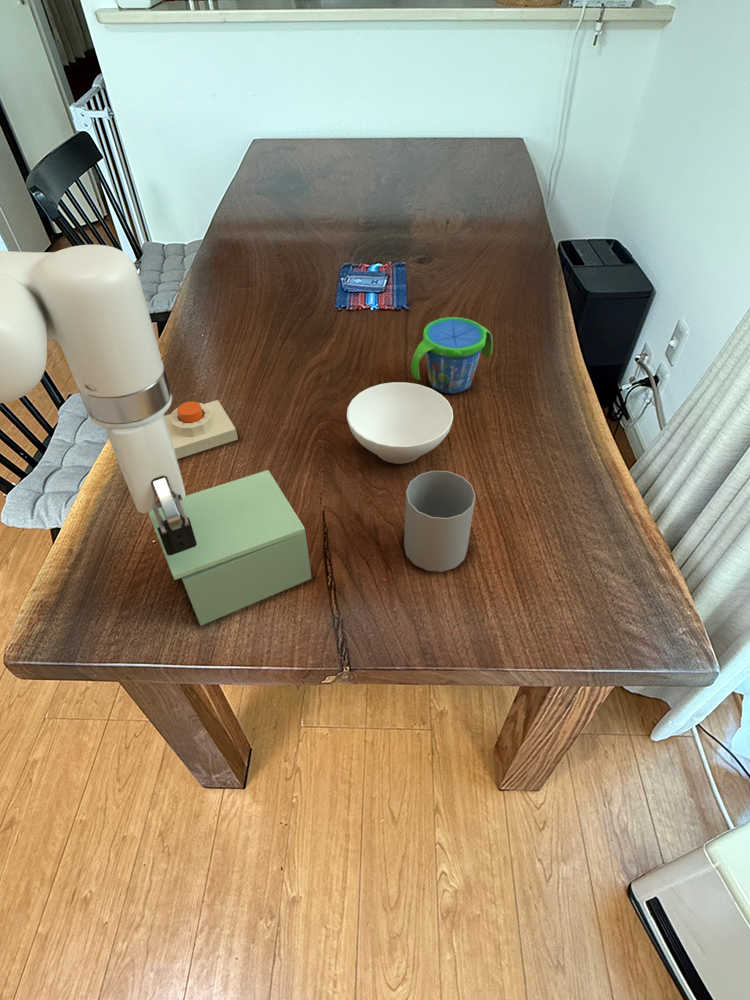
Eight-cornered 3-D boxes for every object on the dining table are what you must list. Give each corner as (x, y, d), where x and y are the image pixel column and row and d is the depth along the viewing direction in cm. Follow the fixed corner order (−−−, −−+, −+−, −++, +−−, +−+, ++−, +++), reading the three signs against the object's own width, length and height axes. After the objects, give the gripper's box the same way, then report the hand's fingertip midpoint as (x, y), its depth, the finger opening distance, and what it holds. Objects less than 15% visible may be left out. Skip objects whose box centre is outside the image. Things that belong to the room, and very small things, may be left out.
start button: (183, 426, 93) (181, 417, 92) (177, 414, 95) (174, 405, 94) (206, 419, 94) (203, 410, 93) (199, 407, 96) (196, 398, 95)
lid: (174, 580, 64) (162, 546, 60) (148, 512, 72) (136, 477, 68) (305, 532, 70) (302, 498, 66) (268, 474, 77) (264, 440, 73)
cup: (466, 526, 82) (475, 473, 75) (467, 573, 77) (476, 520, 70) (405, 522, 83) (408, 468, 76) (402, 568, 77) (403, 515, 70)
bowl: (330, 465, 91) (327, 429, 86) (373, 408, 102) (373, 372, 97) (428, 495, 87) (431, 458, 82) (463, 431, 97) (467, 396, 92)
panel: (170, 461, 92) (163, 441, 90) (155, 429, 98) (149, 410, 95) (238, 439, 96) (233, 419, 93) (220, 410, 102) (215, 390, 99)
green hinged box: (200, 626, 71) (183, 581, 65) (174, 560, 79) (156, 514, 72) (311, 578, 76) (305, 532, 70) (277, 520, 83) (269, 474, 77)
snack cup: (423, 410, 101) (426, 357, 94) (398, 377, 108) (399, 326, 101) (503, 389, 105) (512, 337, 98) (474, 359, 112) (480, 309, 105)
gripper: (67, 356, 58) (118, 483, 71) (102, 458, 48) (155, 588, 60) (145, 338, 61) (181, 464, 73) (194, 431, 50) (227, 560, 62)
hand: (169, 519), depth 66 cm, fingers open, 9 cm apart
